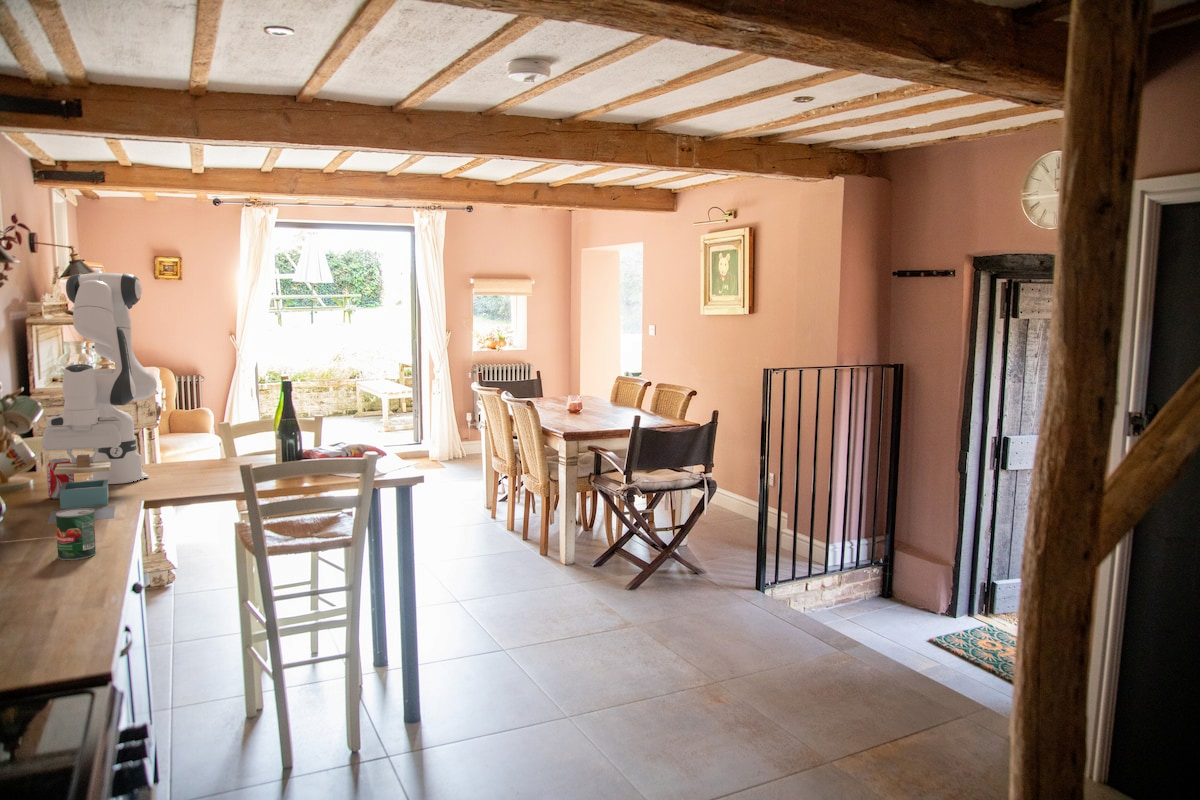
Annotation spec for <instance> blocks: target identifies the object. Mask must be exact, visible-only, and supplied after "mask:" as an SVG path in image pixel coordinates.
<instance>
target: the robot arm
mask: <svg viewBox="0 0 1200 800" xmlns="http://www.w3.org/2000/svg"><path fill="white" fill-rule="evenodd" d="M65 283H66V284H65V292H66V296H67V298H68V300H69V301H70V302H71V303H72V304H73V312H72V325H73V328H74V329H75V331H76V332H77V333H78V334H79V335H80V336H81V337H83V338H85V339H87V340H89V341H91V342H93V343H94V345H93V347H94V351H95V352H96V354H97V355H99V357H102V358H104V359H106V360H108V361H111V362H113V363H114V366H115V367H114V368H106V369H105V368H98V369H97V368H94V367H93V365H91V364H90V365H89V364H85V363H84V364H83V363H82V364H81V363H80V364H78V363H76V364H70V365H68V366H66V367H65V368H64V370H63V377H62V397H63V400H64V404H63V413H60V414H59V413H58V414H55V415H53V416H50V417H48V418H46V420H45V421H46V423H45V424H46V427H45V429H44V431H43V432H42V433H43V434H42V441H41V446H42V449H43V450H44V451H47V452H48V451H62V450H63V451H65V450H66V455H68V457H69V459H71V460H70V461H71V463H72V464H77V456H74V455H73V452H74V450H81V449H82V450H85V449H92V452H93V454H92V455H91V456H89V463H95V462H97V461H111V467H110V471H106V472H91V475H90V476H89V477H88V478H86V480H85V481H93V480H107V479H108V485H114V484H115V485H116V484H118V485H119V484H127V483H128V484H129V483H133V481H134V482H137V480H138V481H141V480H145V479H144V478H147V479H149V478H150V476H149V474H147V473H146V472H144V471H143V462H142V461H143V460H142V455H141V454H140V453H139V452H138V451H137V444H138V443H137V439H136V438H135V420H134V418H133V417H132V415H131V414H129V413H128V412H126V411H123V410H121V409H118V408H116V407H115V406H126V405H128V404H129V403H131V402H132V401H139V400H140V401H141V400H145V399H149V398H151V397H152V396H153V395H154V394H155V392H156V390H157V383H158V382H157V379H156V377H155V375H154V374H153V373H152V372H151V371H150V370H148V369H146V367H144V366H143V364H141V363H140V362H139V361H138V358H137V357H136V356H135V353H134V350H133V338H132V323H131V322H132V321H131V314H130V311H129V310H130V309H132V307H133V306H135V305H137V303H138V302H139V301H140V300H141V296H142V291H143V287H142V285H141V282H140V280H139V278H138V277H137V276H136V275H134V274H130V273H127V272H124V273H116V272H95V273H94V272H93V273H86V274H85V273H75V274H72V275H70V276H69V277H68V278H67V280H66V282H65ZM148 477H149V478H148ZM140 479H141V480H140Z"/></svg>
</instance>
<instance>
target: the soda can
mask: <svg viewBox="0 0 1200 800" xmlns="http://www.w3.org/2000/svg"><path fill="white" fill-rule="evenodd" d="M63 463H72V460H71V458H66V457H65V458H63V457H62V458H54V459H49V460H48V463H47V465H46V481H47V482H46V483H47V486H46V487H47V492H48V493H47V495H48V497H49V498H52V499H53V500H60V488H61V486H62V483H65V482H75V474H60V475H54V470H55V468H56V467H57V465H58V464H63Z"/></svg>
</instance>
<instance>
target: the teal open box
mask: <svg viewBox="0 0 1200 800" xmlns="http://www.w3.org/2000/svg"><path fill="white" fill-rule="evenodd" d="M109 491H110V490H109V484H108V479H107V480H93V481H86V480H84V481H83V480H81V481H74V482H65V483H62V486H61V488H60V499H59V506H60V510H69V509H77V508H92V507H104V506H109V505H108V504H109V498H110V496H109V494H110V493H109Z"/></svg>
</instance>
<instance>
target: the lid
mask: <svg viewBox="0 0 1200 800" xmlns="http://www.w3.org/2000/svg"><path fill="white" fill-rule="evenodd" d="M76 457H77V464H72V462H71V463H63V464H58V465H57V467H56V468H55V470H54V475H60V474H74V475H75V474H87V473H89V474H90V473H91V474H92V472H106V471H110V467H111V461H97V462H95V463H89V457H90V454H87V453H86V454H78V455H77V456H76Z"/></svg>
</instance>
